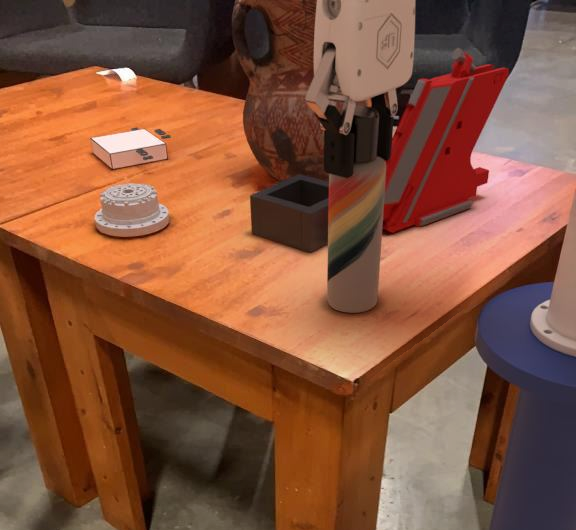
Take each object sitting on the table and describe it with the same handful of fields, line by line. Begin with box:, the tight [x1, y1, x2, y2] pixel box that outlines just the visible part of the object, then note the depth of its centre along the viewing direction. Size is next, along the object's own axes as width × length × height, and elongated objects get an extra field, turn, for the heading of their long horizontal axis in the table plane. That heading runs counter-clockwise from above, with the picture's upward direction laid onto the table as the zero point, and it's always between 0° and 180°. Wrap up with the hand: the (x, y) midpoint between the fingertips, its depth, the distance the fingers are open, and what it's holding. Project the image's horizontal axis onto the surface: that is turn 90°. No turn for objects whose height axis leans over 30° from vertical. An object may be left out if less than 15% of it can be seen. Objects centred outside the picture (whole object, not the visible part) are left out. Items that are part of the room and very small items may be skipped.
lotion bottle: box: [326, 106, 386, 314], centre depth 80 cm, size 6×6×20 cm
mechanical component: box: [93, 182, 170, 238], centre depth 103 cm, size 10×4×10 cm
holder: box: [249, 174, 329, 253], centre depth 100 cm, size 10×10×5 cm
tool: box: [382, 47, 510, 234], centre depth 100 cm, size 24×5×25 cm, turn 133°
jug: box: [231, 0, 368, 183], centre depth 109 cm, size 22×21×25 cm
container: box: [90, 127, 172, 171], centre depth 125 cm, size 20×11×3 cm, turn 29°
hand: (357, 163), depth 76 cm, fingers closed on lotion bottle, 5 cm apart
